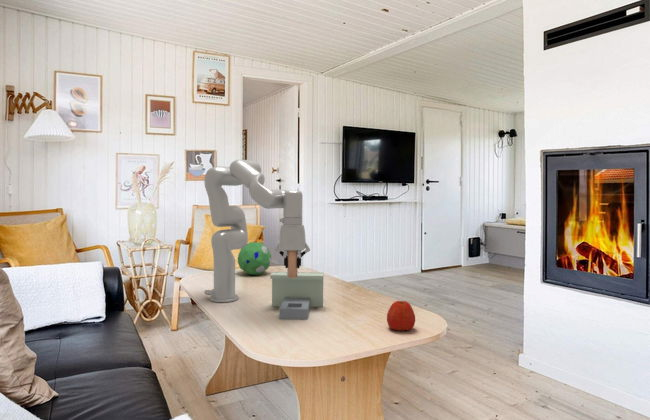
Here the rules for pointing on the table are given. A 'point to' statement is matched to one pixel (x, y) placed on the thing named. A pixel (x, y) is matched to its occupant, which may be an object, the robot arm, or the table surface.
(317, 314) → the table surface
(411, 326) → the apple
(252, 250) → the decorative sphere
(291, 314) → the socket
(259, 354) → the table surface
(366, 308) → the table surface
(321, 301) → the pale green rectangular block
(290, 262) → the peg
